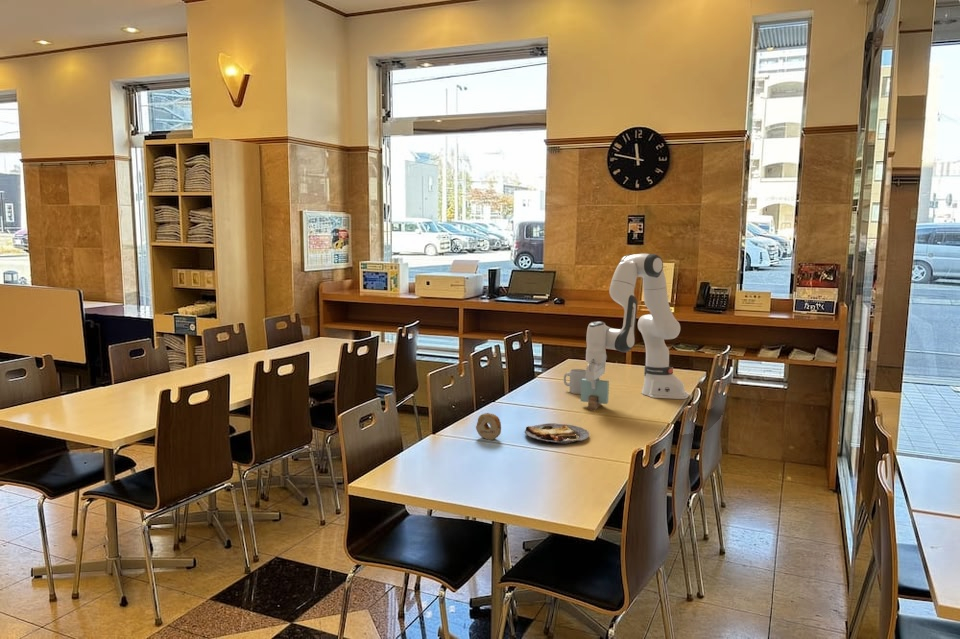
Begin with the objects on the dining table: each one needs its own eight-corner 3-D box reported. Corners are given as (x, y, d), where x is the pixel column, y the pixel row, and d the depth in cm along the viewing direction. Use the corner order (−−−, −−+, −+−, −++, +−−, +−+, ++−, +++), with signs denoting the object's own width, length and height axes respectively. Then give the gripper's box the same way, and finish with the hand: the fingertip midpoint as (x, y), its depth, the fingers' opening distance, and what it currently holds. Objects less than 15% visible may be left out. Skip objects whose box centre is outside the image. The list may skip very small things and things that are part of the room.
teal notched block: (608, 402, 314) (608, 380, 313) (606, 403, 311) (607, 382, 310) (582, 399, 319) (583, 378, 317) (580, 401, 316) (581, 379, 315)
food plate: (536, 447, 255) (536, 438, 255) (516, 431, 278) (516, 422, 277) (598, 444, 262) (598, 435, 262) (574, 428, 284) (574, 419, 284)
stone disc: (503, 439, 266) (503, 414, 265) (497, 441, 263) (498, 416, 262) (480, 435, 272) (480, 410, 270) (475, 437, 269) (475, 412, 267)
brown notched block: (595, 403, 321) (595, 391, 320) (601, 404, 320) (601, 391, 319) (588, 409, 310) (588, 396, 310) (594, 410, 309) (595, 397, 308)
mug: (589, 391, 346) (589, 369, 345) (583, 395, 339) (583, 373, 338) (566, 388, 352) (567, 367, 351) (560, 392, 345) (560, 370, 343)
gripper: (596, 362, 302) (595, 393, 303) (608, 354, 320) (607, 384, 322) (582, 360, 304) (581, 391, 306) (594, 353, 323) (593, 382, 324)
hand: (595, 387), depth 314 cm, fingers closed on teal notched block, 3 cm apart
